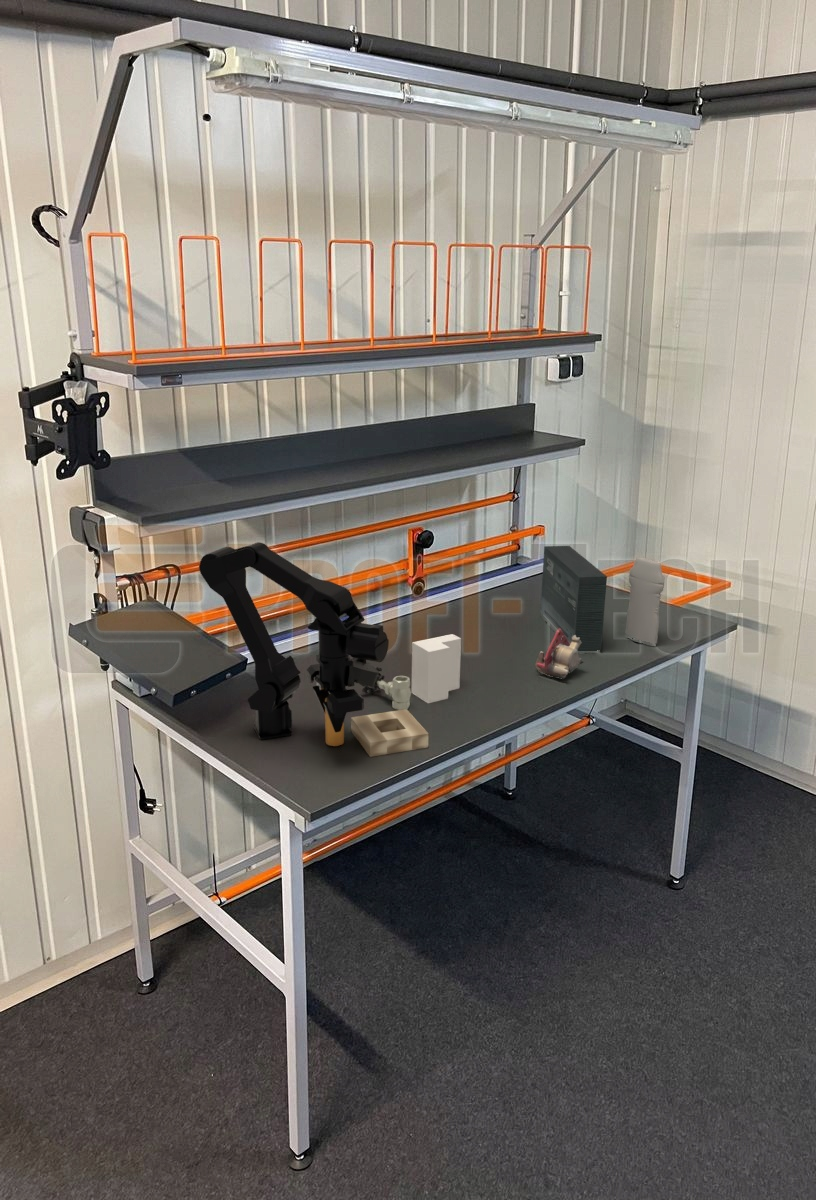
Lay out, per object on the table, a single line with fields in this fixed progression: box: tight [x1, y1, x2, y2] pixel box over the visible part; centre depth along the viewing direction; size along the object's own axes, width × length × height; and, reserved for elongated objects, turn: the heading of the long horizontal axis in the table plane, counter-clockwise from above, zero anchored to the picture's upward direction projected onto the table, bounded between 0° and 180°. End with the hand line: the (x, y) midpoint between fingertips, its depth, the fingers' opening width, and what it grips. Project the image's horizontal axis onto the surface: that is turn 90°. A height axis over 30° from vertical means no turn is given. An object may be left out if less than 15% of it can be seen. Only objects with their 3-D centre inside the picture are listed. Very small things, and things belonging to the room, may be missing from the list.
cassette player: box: [539, 545, 608, 651], centre depth 248 cm, size 29×7×20 cm, turn 9°
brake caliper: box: [534, 629, 586, 680], centre depth 224 cm, size 11×11×12 cm
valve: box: [359, 666, 412, 711], centre depth 208 cm, size 7×7×12 cm
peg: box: [324, 698, 345, 747], centre depth 187 cm, size 4×4×9 cm
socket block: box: [350, 709, 429, 758], centre depth 191 cm, size 12×12×3 cm
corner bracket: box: [411, 633, 462, 704], centre depth 214 cm, size 11×11×12 cm
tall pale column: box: [624, 557, 665, 644], centre depth 243 cm, size 11×4×22 cm, turn 39°
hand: (334, 727), depth 187 cm, fingers closed on peg, 4 cm apart
